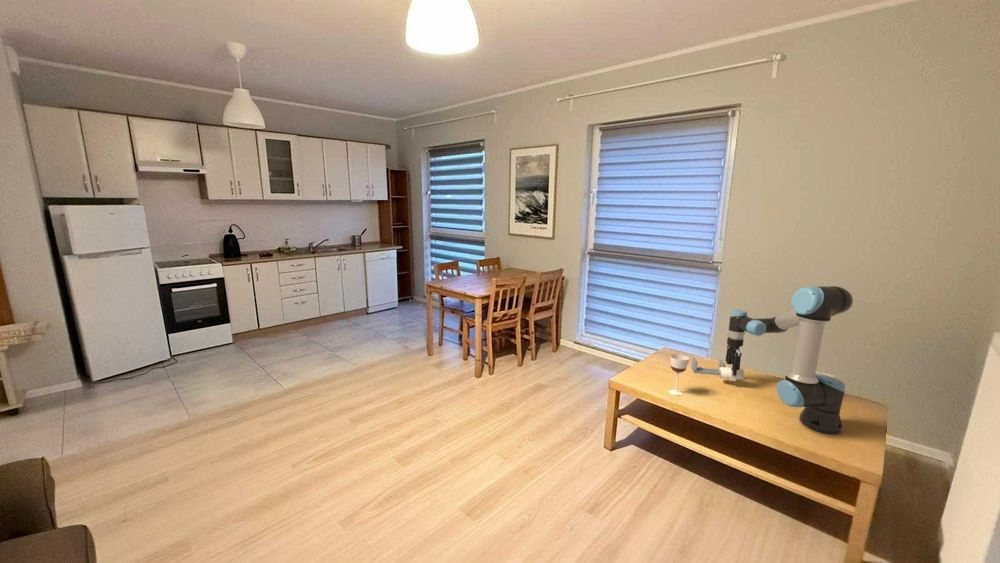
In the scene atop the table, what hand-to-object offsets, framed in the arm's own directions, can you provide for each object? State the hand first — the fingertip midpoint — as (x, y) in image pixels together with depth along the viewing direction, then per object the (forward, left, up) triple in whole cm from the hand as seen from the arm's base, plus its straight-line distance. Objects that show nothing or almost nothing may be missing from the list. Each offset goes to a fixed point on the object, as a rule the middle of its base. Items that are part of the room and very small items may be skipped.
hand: (730, 377), depth 219 cm
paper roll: (-1, 0, 0) cm, 1 cm away
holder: (+15, +7, -4) cm, 17 cm away
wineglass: (-17, +32, -4) cm, 37 cm away
